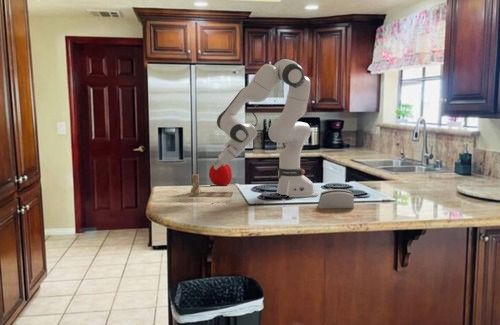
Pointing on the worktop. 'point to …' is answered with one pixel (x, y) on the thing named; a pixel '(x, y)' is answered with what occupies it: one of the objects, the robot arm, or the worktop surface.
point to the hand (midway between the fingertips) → (214, 167)
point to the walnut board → (213, 194)
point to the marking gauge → (195, 185)
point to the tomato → (220, 175)
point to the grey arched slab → (336, 199)
